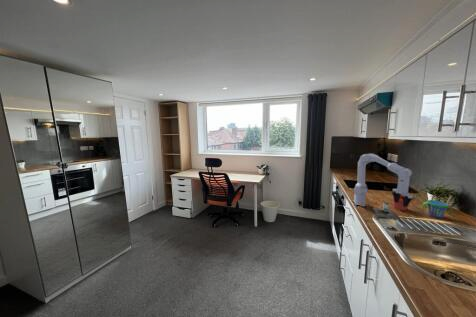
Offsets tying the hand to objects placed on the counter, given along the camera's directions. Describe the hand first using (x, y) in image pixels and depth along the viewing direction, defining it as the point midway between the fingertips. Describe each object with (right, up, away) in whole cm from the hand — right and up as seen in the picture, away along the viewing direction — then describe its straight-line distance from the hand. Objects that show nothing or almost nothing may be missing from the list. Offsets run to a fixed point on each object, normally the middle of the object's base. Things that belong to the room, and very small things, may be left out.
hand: (400, 204), depth 130 cm
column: (-5, -7, +7) cm, 11 cm away
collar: (-5, -9, +7) cm, 13 cm away
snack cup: (+29, -10, +4) cm, 31 cm away
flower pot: (+14, -8, +17) cm, 24 cm away
